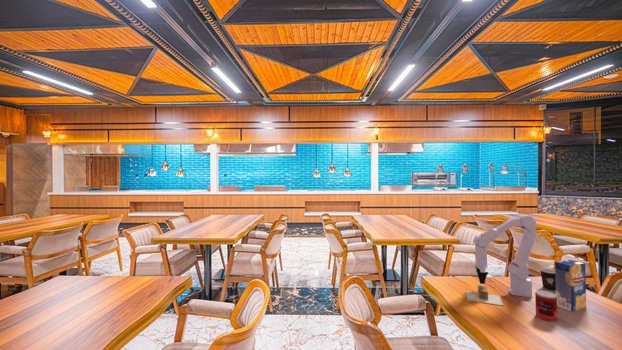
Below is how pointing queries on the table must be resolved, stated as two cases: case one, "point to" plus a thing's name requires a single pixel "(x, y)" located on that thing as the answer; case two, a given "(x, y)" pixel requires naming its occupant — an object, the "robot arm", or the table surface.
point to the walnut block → (482, 292)
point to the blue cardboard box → (570, 284)
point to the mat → (491, 299)
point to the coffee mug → (548, 279)
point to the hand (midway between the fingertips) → (481, 281)
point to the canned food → (546, 305)
